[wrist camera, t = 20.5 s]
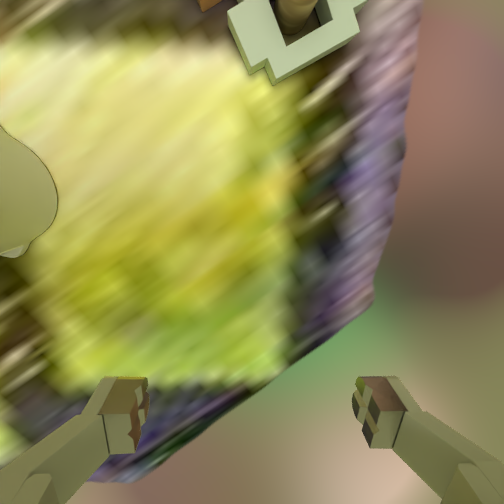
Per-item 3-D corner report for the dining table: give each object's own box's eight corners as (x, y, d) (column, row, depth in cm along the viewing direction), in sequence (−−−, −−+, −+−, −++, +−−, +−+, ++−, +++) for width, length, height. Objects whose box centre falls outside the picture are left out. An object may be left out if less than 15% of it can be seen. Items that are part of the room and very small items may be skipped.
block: (363, 34, 33) (377, 21, 30) (258, 93, 34) (260, 87, 31) (333, -68, 30) (345, -95, 26) (218, 3, 31) (216, -14, 28)
